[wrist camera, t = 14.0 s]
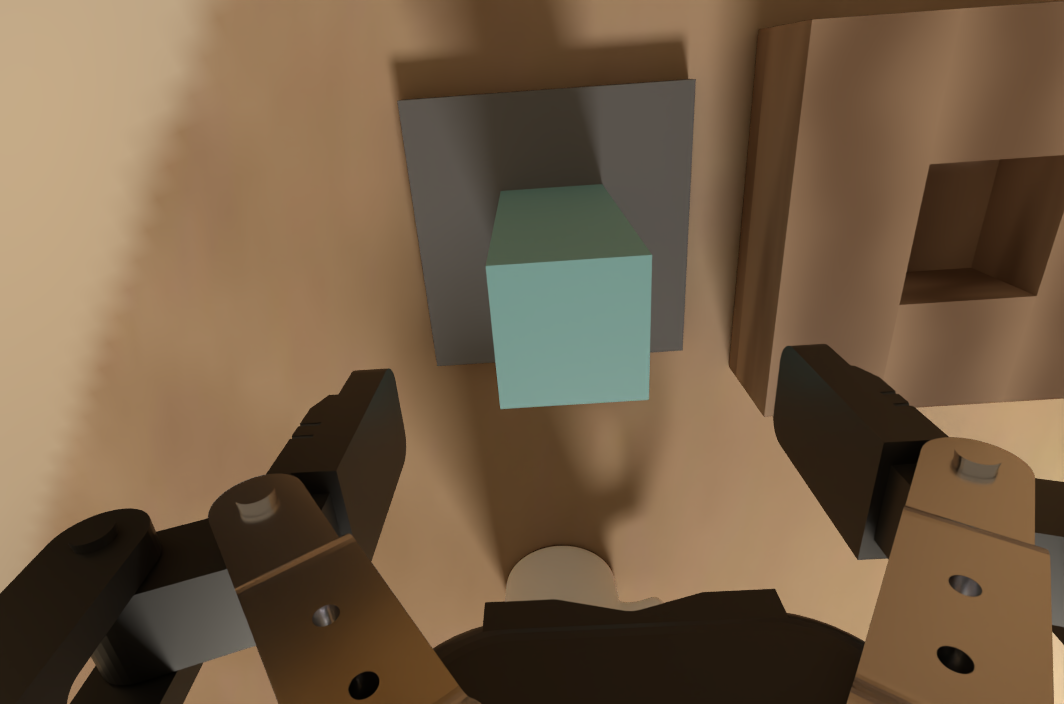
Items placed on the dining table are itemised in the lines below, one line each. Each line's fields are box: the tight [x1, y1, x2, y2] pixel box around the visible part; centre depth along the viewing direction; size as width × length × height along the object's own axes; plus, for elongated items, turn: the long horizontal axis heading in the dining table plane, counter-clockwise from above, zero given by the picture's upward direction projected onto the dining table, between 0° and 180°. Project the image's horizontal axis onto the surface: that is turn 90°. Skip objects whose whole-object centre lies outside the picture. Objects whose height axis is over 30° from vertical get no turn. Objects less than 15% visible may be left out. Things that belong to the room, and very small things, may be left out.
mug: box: [505, 546, 663, 611], centre depth 28 cm, size 10×7×12 cm, turn 110°
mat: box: [397, 79, 696, 366], centre depth 24 cm, size 11×11×1 cm
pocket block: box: [729, 1, 1064, 417], centre depth 23 cm, size 14×14×4 cm
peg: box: [486, 184, 652, 409], centre depth 19 cm, size 4×4×10 cm
